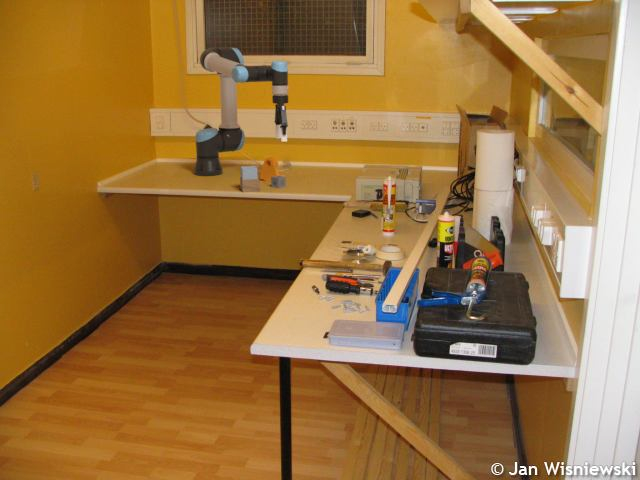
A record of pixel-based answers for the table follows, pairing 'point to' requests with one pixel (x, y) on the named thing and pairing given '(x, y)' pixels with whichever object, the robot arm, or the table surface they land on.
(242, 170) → the tower top
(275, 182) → the dice cube
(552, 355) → the table surface
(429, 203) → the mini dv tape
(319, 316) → the table surface
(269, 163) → the bracket
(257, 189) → the tower bottom
